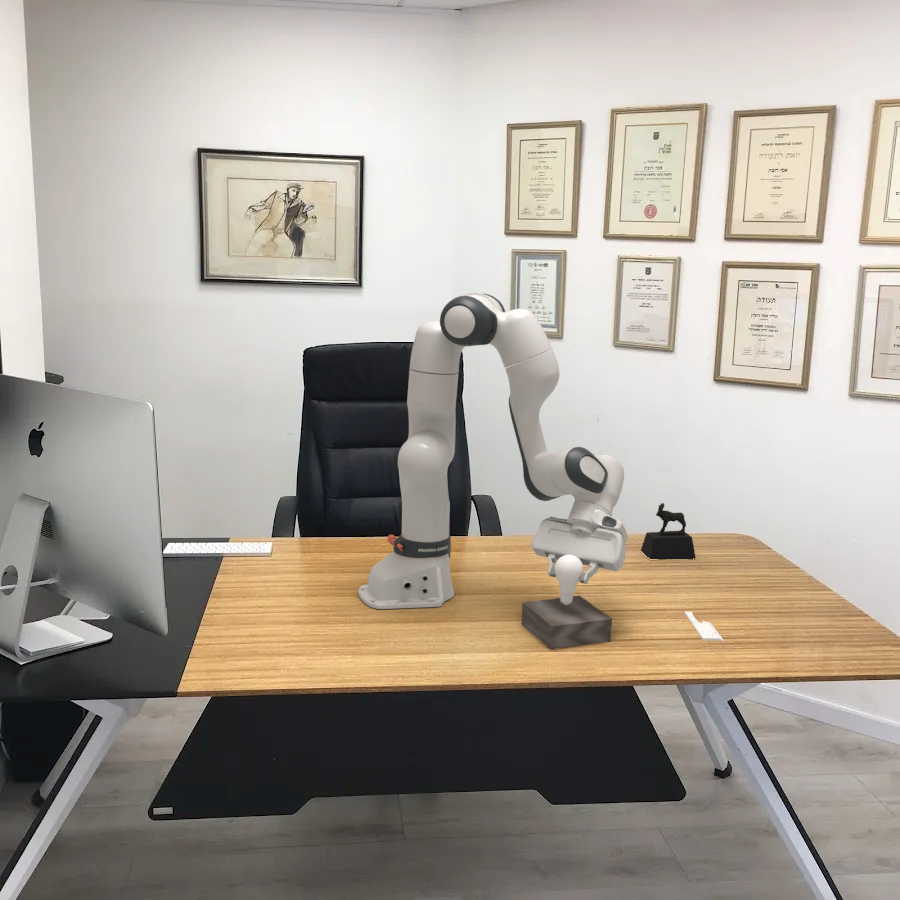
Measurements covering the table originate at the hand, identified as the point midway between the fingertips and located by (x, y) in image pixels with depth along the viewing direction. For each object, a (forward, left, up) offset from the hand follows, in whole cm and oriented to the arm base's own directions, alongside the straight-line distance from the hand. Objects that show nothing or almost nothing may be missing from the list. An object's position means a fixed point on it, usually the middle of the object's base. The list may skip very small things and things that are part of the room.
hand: (567, 578), depth 196 cm
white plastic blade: (+31, -6, -13) cm, 35 cm away
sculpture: (+52, +39, -13) cm, 67 cm away
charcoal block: (0, 0, -12) cm, 12 cm away
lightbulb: (0, 0, -6) cm, 6 cm away
